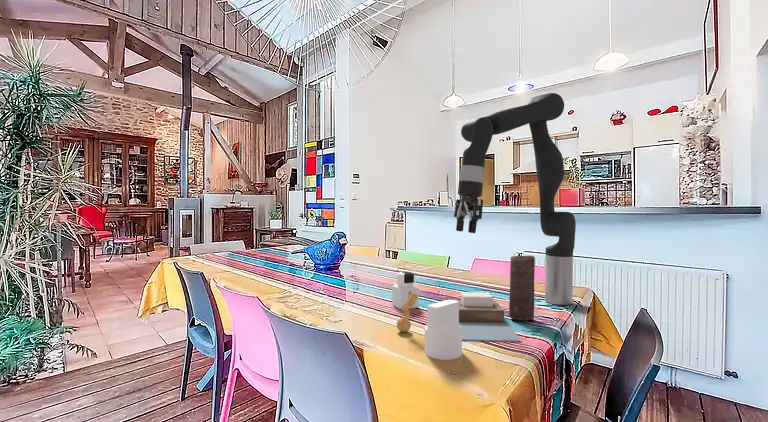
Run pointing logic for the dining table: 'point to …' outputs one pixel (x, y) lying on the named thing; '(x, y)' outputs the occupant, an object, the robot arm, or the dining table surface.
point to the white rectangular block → (476, 299)
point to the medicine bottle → (404, 290)
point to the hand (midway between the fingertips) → (465, 232)
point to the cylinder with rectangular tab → (443, 331)
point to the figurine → (404, 323)
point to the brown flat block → (481, 313)
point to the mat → (488, 332)
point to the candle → (522, 287)
